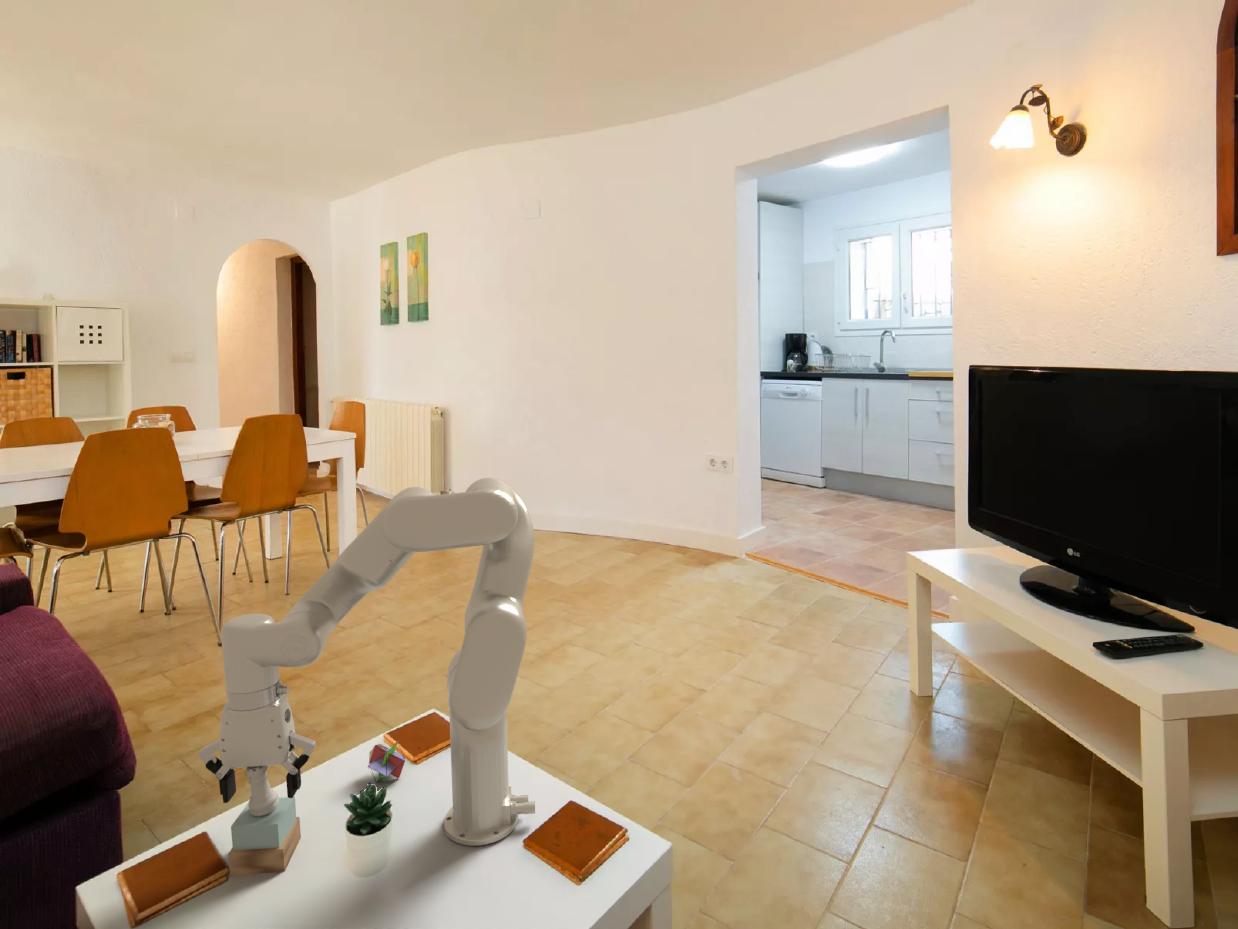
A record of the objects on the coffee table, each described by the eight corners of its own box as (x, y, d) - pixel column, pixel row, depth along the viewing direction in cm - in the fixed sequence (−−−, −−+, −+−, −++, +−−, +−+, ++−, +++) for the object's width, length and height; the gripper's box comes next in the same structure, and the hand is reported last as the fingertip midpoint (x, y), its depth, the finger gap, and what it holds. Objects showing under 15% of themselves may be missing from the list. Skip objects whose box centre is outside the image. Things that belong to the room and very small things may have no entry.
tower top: (296, 819, 116) (294, 797, 115) (279, 847, 109) (277, 824, 108) (252, 821, 115) (251, 798, 115) (232, 850, 108) (230, 826, 108)
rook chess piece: (265, 819, 109) (256, 775, 107) (242, 816, 110) (232, 772, 109) (286, 800, 113) (277, 757, 112) (263, 797, 115) (254, 754, 113)
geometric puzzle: (421, 760, 136) (397, 727, 136) (402, 780, 129) (377, 745, 130) (395, 777, 138) (372, 744, 138) (376, 798, 131) (351, 763, 131)
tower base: (300, 838, 117) (299, 816, 116) (284, 872, 109) (283, 849, 109) (250, 843, 116) (248, 820, 115) (230, 877, 108) (228, 853, 107)
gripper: (318, 680, 114) (325, 778, 116) (206, 686, 112) (215, 785, 114) (303, 702, 106) (310, 805, 109) (183, 709, 104) (192, 814, 107)
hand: (261, 795), depth 111 cm, fingers open, 9 cm apart
